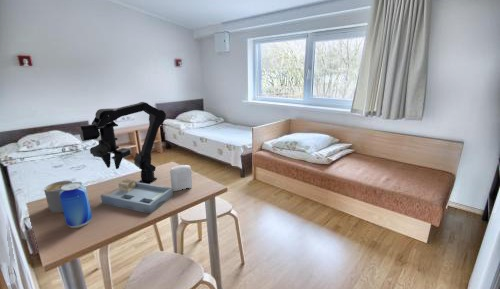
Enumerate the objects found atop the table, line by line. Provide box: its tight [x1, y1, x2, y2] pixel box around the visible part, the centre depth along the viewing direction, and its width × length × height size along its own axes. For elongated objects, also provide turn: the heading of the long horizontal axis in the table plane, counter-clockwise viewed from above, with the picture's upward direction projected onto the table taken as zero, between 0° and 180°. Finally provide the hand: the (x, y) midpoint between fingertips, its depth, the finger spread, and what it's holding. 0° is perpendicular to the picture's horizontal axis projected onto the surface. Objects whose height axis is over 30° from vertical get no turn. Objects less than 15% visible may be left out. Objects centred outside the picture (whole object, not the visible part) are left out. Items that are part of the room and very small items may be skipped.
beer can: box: [59, 181, 93, 229], centre depth 97 cm, size 8×8×16 cm
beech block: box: [118, 178, 136, 192], centre depth 121 cm, size 5×5×4 cm
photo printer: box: [169, 164, 193, 192], centre depth 125 cm, size 10×4×12 cm, turn 116°
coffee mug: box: [43, 180, 73, 214], centre depth 108 cm, size 13×10×10 cm
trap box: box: [100, 181, 174, 214], centre depth 116 cm, size 16×26×4 cm, turn 72°
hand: (113, 168), depth 121 cm, fingers open, 5 cm apart
